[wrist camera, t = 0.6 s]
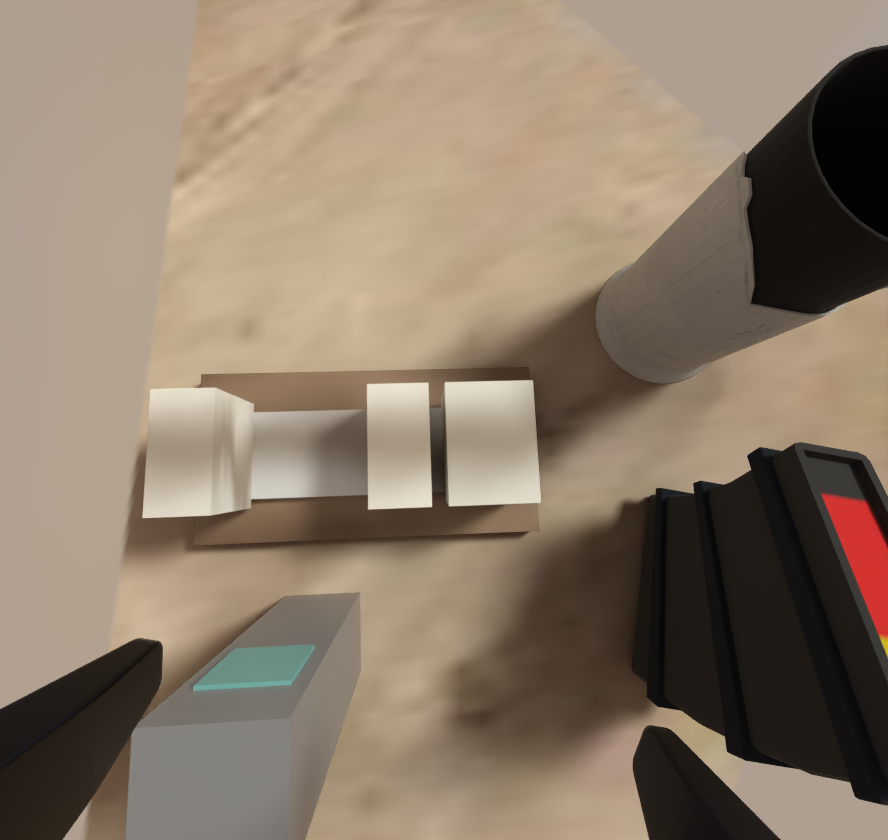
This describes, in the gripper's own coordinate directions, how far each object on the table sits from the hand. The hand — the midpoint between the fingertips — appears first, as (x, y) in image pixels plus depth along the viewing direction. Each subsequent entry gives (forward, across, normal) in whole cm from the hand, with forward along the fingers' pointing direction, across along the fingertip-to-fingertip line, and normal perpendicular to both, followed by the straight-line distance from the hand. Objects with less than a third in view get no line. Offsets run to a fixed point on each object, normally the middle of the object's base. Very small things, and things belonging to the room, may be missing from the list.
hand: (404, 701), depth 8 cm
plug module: (+14, +5, +12) cm, 20 cm away
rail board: (+19, +4, +2) cm, 19 cm away
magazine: (+17, -15, +5) cm, 24 cm away
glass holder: (+23, -16, -10) cm, 30 cm away
